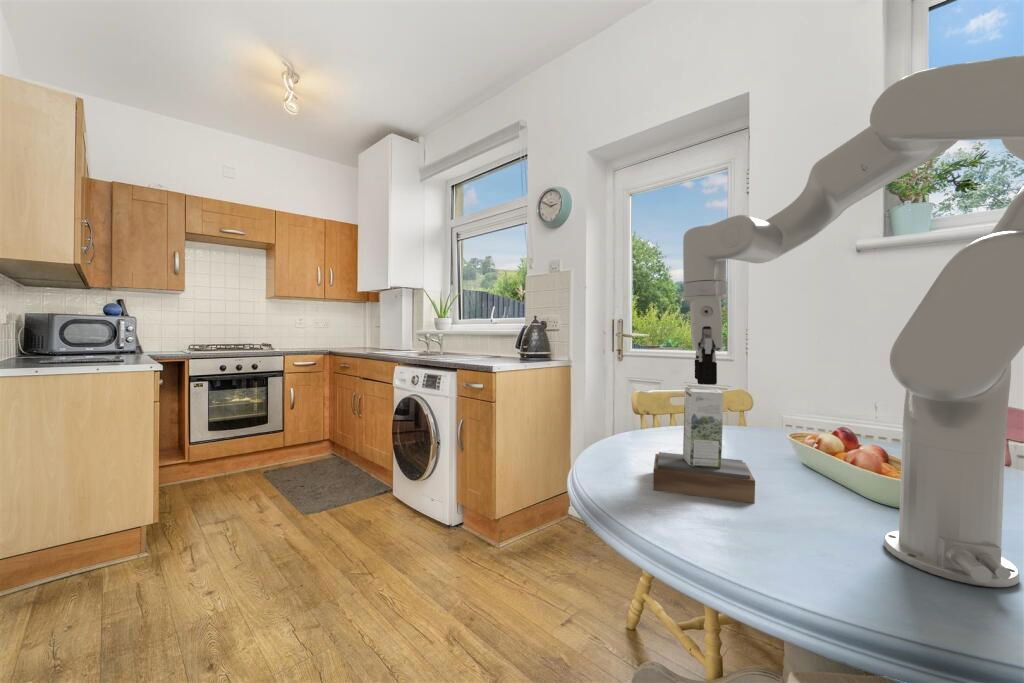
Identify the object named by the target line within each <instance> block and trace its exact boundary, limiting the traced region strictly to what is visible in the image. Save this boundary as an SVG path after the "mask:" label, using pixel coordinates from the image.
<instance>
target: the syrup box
mask: <svg viewBox="0 0 1024 683" xmlns="http://www.w3.org/2000/svg"><path fill="white" fill-rule="evenodd" d="M724 398H725V396H724V393H723V392H722V391H721V390H720V389H718V388H715V387H714V388H713V387H684V403H683V404H684V405H683V406H684V409H683V442H682V443H683V444H682V445H683V448H682V454H683V458H684V459H685V461H686V462H687V463H688V464H689V465H690V466H693V467H709V468H721V458H722V450H723V449H722V448H723V426H724V425H723V424H724V421H723V420H724Z"/></svg>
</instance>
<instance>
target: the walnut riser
mask: <svg viewBox="0 0 1024 683" xmlns="http://www.w3.org/2000/svg"><path fill="white" fill-rule="evenodd" d="M751 472H752V471H751V470H750V469H749V467H748V465H747V463H746V462H743V460H742V459H733V458H724V457H721V468H709V467H693V466H690V465H689V464H688V463H687V462H686V461H685V459H684V458H683V453H681V454H680V453H675V452H674V453H671V452H661V451H659V452H658V453H655V457H654V463H653V475H652V476H653V478H652V480H653V482H652V484H653V485H652V491H656V492H665V493H672V494H681V495H686V496H687V495H690V496H695V497H696V496H697V497H704V498H711V499H712V498H713V499H719V500H720V499H721V500H728V501H733V502H742V503H750V504H755V503H756V502H755V501H756V500H755V499H756V498H755V497H756V479H755V478H754V476H753V474H752V473H751Z"/></svg>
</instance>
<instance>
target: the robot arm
mask: <svg viewBox="0 0 1024 683" xmlns="http://www.w3.org/2000/svg"><path fill="white" fill-rule="evenodd" d="M982 140H983V141H984V140H986V141H987V140H1001V141H1002V145H1003V146H1004V147H1005V149H1006V150H1007V151H1008V152H1009V153H1010V154H1012V155H1013V156H1015V157H1016V158H1018V159H1019V160H1022V162H1024V54H1020V55H1015V56H1014V55H1013V56H1007V57H1006V56H1005V57H998V58H992V59H984V60H982V59H981V60H976V61H970V62H963V63H962V62H961V63H956V64H948V65H942V66H941V65H940V66H937V67H932V68H931V67H930V68H928V69H924V70H919V71H916V72H913V73H911V74H909V75H906V76H904V77H903V78H901V79H899V80H897V81H896V82H894V83H892V85H890V86H889V87H888V88H886V89H885V90H884V91H883V92H882V93H881V94H880V95H879V96H878V98H877V99H876V101H875V102H874V104H873V106H872V108H871V111H870V114H869V126H868V127H867V128H865V129H864V130H862V131H860V132H858V134H856V135H855V136H853V137H852V138H851V139H849V140H847V141H846V142H844V143H843V144H842V145H840V146H838V147H837V148H836V149H834V150H833V151H831V152H830V153H827V155H825V156H823V157H822V158H821V159H819V160H817V161H816V162H815V163H814V164H813V165H812V168H811V170H810V172H809V175H808V179H807V182H806V185H805V187H804V188H803V190H802V192H801V193H800V194H799V195H798V196H797V198H796V199H794V201H792V202H791V203H790V204H788V205H787V206H786V207H784V208H783V209H782V210H780V211H779V212H777V213H775V214H774V215H773V216H771V217H769V218H768V219H765V220H763V219H760V218H756V217H753V216H750V215H746V214H738V215H733V216H730V217H727V218H725V219H722V220H720V221H717V222H715V223H713V224H712V223H711V224H709V225H699V226H696V227H691V228H689V229H687V231H685V233H684V234H683V241H682V244H683V245H682V249H683V250H682V251H683V252H682V253H683V254H682V255H683V256H682V258H683V260H682V262H683V270H682V271H683V301H684V302H689V304H690V307H689V308H690V310H689V311H690V334H691V343H692V350H693V351H695V359H694V378H695V380H696V381H697V384H698V385H707V386H709V385H710V386H711V385H713V386H715V385H717V383H718V371H717V370H718V363H717V361H716V359H717V356H716V351H717V352H721V351H724V341H723V340H724V336H723V312H722V302H721V301H724V300H727V260H733V261H743V262H746V263H749V264H765V263H769V262H771V261H774V260H775V259H778V258H780V257H781V256H783V255H786V254H787V253H789V252H791V251H793V250H795V249H796V248H799V247H800V246H801V245H803V244H805V243H807V242H809V241H810V240H811V239H813V238H814V237H816V236H817V235H819V233H821V232H823V230H825V229H826V228H827V227H828V226H829V225H831V224H832V223H833V222H834V221H836V220H837V219H838V218H839V217H840V216H841V215H842V213H844V212H845V211H846V210H847V209H849V208H850V207H852V206H853V205H855V204H856V203H858V202H860V201H862V200H863V199H865V198H866V197H868V196H871V195H872V194H873V193H875V192H877V191H879V190H881V189H883V187H885V186H887V185H889V184H891V183H893V182H895V181H896V180H897V179H899V178H901V177H903V176H904V175H907V174H909V173H911V172H912V171H914V170H915V169H917V168H918V167H921V166H922V165H924V164H926V163H928V162H929V161H931V160H933V159H934V158H936V157H937V156H939V155H941V154H942V153H944V152H946V151H947V150H949V149H950V148H952V147H953V146H954V145H955V144H956V143H957V142H959V141H982ZM1023 347H1024V185H1023V186H1022V187H1021V189H1020V190H1019V191H1018V192H1017V194H1015V195H1014V197H1013V199H1012V200H1011V202H1009V205H1008V206H1007V208H1006V210H1005V212H1004V213H1003V214H1002V216H1001V217H1000V219H999V220H998V222H997V223H996V224H995V226H994V228H993V229H992V231H991V232H990V233H989V234H988V235H986V236H983V237H980V238H978V239H976V240H974V241H972V242H970V243H969V244H967V245H965V246H964V247H962V248H961V249H960V250H958V252H957V253H955V254H954V255H953V257H952V258H951V259H949V261H948V262H947V263H946V264H945V265H944V267H943V268H942V270H941V272H940V273H939V274H938V276H937V277H936V279H935V280H934V282H933V283H932V284H931V286H930V288H929V289H928V290H927V293H926V294H925V295H924V297H923V298H922V300H921V302H920V303H919V305H918V306H917V307H916V309H915V310H914V311H913V314H912V315H911V317H910V318H909V319H908V321H907V322H906V324H905V326H904V327H903V328H902V330H901V331H900V332H899V334H898V336H897V337H896V339H895V341H894V343H893V345H892V347H891V351H890V354H889V364H890V369H891V373H892V375H893V377H894V378H895V379H896V381H897V382H898V383H899V385H900V386H902V387H903V388H904V389H905V395H904V397H905V398H904V408H903V417H902V418H903V420H902V437H901V457H900V458H901V461H900V464H901V465H900V489H899V490H900V491H899V492H900V493H899V518H898V519H899V522H898V524H899V525H898V530H892V531H889V532H888V533H885V534H884V539H883V545H884V548H886V550H887V552H889V553H890V554H891V555H893V556H894V557H895V558H897V559H899V560H900V561H902V562H903V563H906V564H907V565H909V566H912V567H914V568H915V569H916V568H917V569H919V570H921V571H924V572H927V573H929V574H932V575H934V576H938V577H941V578H944V579H947V580H951V581H955V582H958V583H959V582H960V583H964V584H968V585H973V586H981V587H985V588H988V587H989V588H1008V587H1013V586H1015V585H1017V584H1019V581H1020V570H1019V569H1018V567H1017V566H1016V565H1014V563H1012V562H1011V561H1010V560H1008V559H1006V558H1005V557H1003V556H1002V550H1003V549H1002V540H1003V539H1002V538H1003V515H1004V514H1003V512H1004V491H1005V490H1004V487H1005V466H1006V465H1005V464H1006V451H1007V431H1008V430H1007V429H1008V428H1007V426H1008V412H1009V410H1008V409H1009V401H1010V400H1009V398H1010V391H1011V390H1010V387H1011V379H1012V378H1011V377H1012V361H1013V360H1014V359H1015V357H1016V356H1017V355H1018V354H1019V352H1020V351H1021V350H1022V349H1023Z"/></svg>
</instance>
